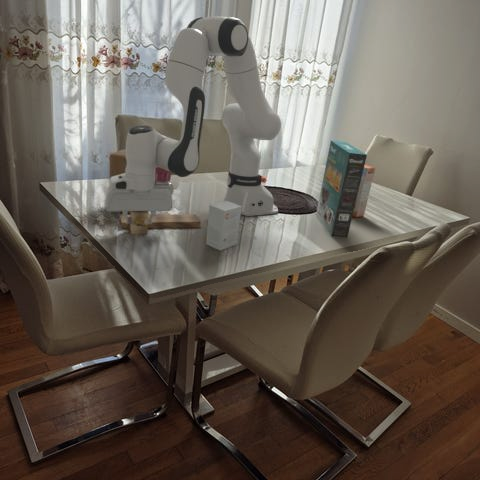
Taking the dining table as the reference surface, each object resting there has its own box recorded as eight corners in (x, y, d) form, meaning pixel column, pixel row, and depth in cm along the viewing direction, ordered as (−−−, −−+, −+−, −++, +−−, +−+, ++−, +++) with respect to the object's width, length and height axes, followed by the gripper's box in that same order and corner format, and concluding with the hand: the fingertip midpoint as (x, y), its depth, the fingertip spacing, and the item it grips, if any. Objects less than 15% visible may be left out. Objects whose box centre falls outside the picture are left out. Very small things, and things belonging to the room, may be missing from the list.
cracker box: (364, 216, 178) (376, 167, 170) (355, 218, 174) (367, 168, 166) (338, 205, 187) (348, 158, 179) (329, 207, 184) (339, 159, 176)
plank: (195, 219, 151) (195, 214, 150) (200, 227, 145) (201, 221, 144) (119, 220, 141) (119, 214, 141) (121, 228, 135) (121, 222, 135)
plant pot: (170, 196, 171) (172, 165, 166) (135, 192, 171) (136, 160, 166) (175, 186, 184) (177, 157, 179) (143, 182, 184) (143, 153, 179)
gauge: (143, 223, 142) (144, 203, 139) (147, 233, 134) (148, 212, 132) (128, 223, 140) (128, 203, 137) (131, 234, 132) (132, 213, 130)
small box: (222, 238, 138) (226, 200, 133) (237, 244, 135) (242, 206, 130) (205, 244, 132) (208, 204, 127) (220, 251, 129) (224, 210, 124)
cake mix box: (347, 237, 152) (366, 154, 141) (331, 236, 152) (349, 152, 140) (330, 216, 172) (346, 142, 161) (315, 215, 171) (330, 140, 160)
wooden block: (135, 214, 148) (136, 158, 140) (108, 209, 149) (108, 153, 141) (146, 206, 157) (148, 152, 149) (121, 201, 158) (121, 148, 150)
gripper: (172, 178, 135) (169, 219, 141) (104, 177, 128) (104, 220, 133) (176, 184, 130) (173, 226, 135) (106, 183, 123) (106, 227, 128)
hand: (138, 223), depth 134 cm, fingers closed on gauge, 5 cm apart
